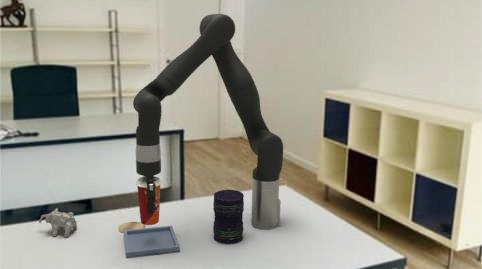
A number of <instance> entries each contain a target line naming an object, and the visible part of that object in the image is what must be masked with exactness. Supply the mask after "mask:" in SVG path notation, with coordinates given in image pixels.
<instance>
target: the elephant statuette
mask: <svg viewBox="0 0 482 269" xmlns="http://www.w3.org/2000/svg"><path fill="white" fill-rule="evenodd" d="M74 215H75V214H74V212H71V211H70V212H68V213H67V212H64V211H63V212H61V211H59V208H58V207H56V208H55V209H54V210H53V211H51V212H49V213H47V214H41V216H40V219H39V220H38V222H39V223H38V224H41V223H42V221H43V219H44V218H45V220H44V221H45V223H46V224H51V231H52V234H51V235H52V236H53V237H57V236H58V234H59V233H58V232H59V231H62V230H64V235H63V236H64V238H69V237H70V232H71V229H73V230H77V229H78V224H77V220H76V218H75V217H74Z"/></svg>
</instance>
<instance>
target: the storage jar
mask: <svg viewBox="0 0 482 269" xmlns="http://www.w3.org/2000/svg"><path fill="white" fill-rule="evenodd" d="M244 198H245V196H244V193H243V192H241V191H239V190H236V189H235V190H234V189H221V190H218V191H215V193H213V212H214V215H213V216H214V217H213V218H214V221H213V227H212V228H213V229H212V230H213V240H214V241H215V242H216V243H218V244H222V245H234V244H238V243H241V241H243V239H244V236H243V234H244V222H243V218H244V217H243V216H244V215H243V214H244V205H245V202H244Z"/></svg>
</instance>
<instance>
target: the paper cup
mask: <svg viewBox="0 0 482 269" xmlns="http://www.w3.org/2000/svg"><path fill="white" fill-rule="evenodd" d="M154 177H155V178H154V179H156V181H154V183H155V185H156V186H155V188H156V202H155V213H154V214H148V213H147V201H146V200H147V197H146V195H145V191H146V192H147V187H146V181H144V182H143V180H145V179H142V178H145V176H144V177H143V176H141V177H138V179H137V181H136V184H135V185H136V186H137V194H138V196H137V197H138V208H139V217H140V222H141V223H142V224H144V225H145V226H153V225H156V224H158V223H159V221H160V206H161V205H160V204H161V202H160V201H161V185H162V181H161V179H160V177H159V176H156V175H154ZM149 198H153V195H150V196H149Z"/></svg>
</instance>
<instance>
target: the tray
mask: <svg viewBox="0 0 482 269" xmlns="http://www.w3.org/2000/svg"><path fill="white" fill-rule="evenodd" d="M123 231H124V233H123V240H124V242H123V243H124V249H125V250H126V251H125V257H126V259H132V258H139V257H147V256H156V255H164V254H165V255H166V254H173V253H174V254H175V253H180V252H181V247H180V244H179V240H178V238H177V235H176V232H175V230H174V227H173V225H164V226H155V227H145V228H143V229H133V230H123Z"/></svg>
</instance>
